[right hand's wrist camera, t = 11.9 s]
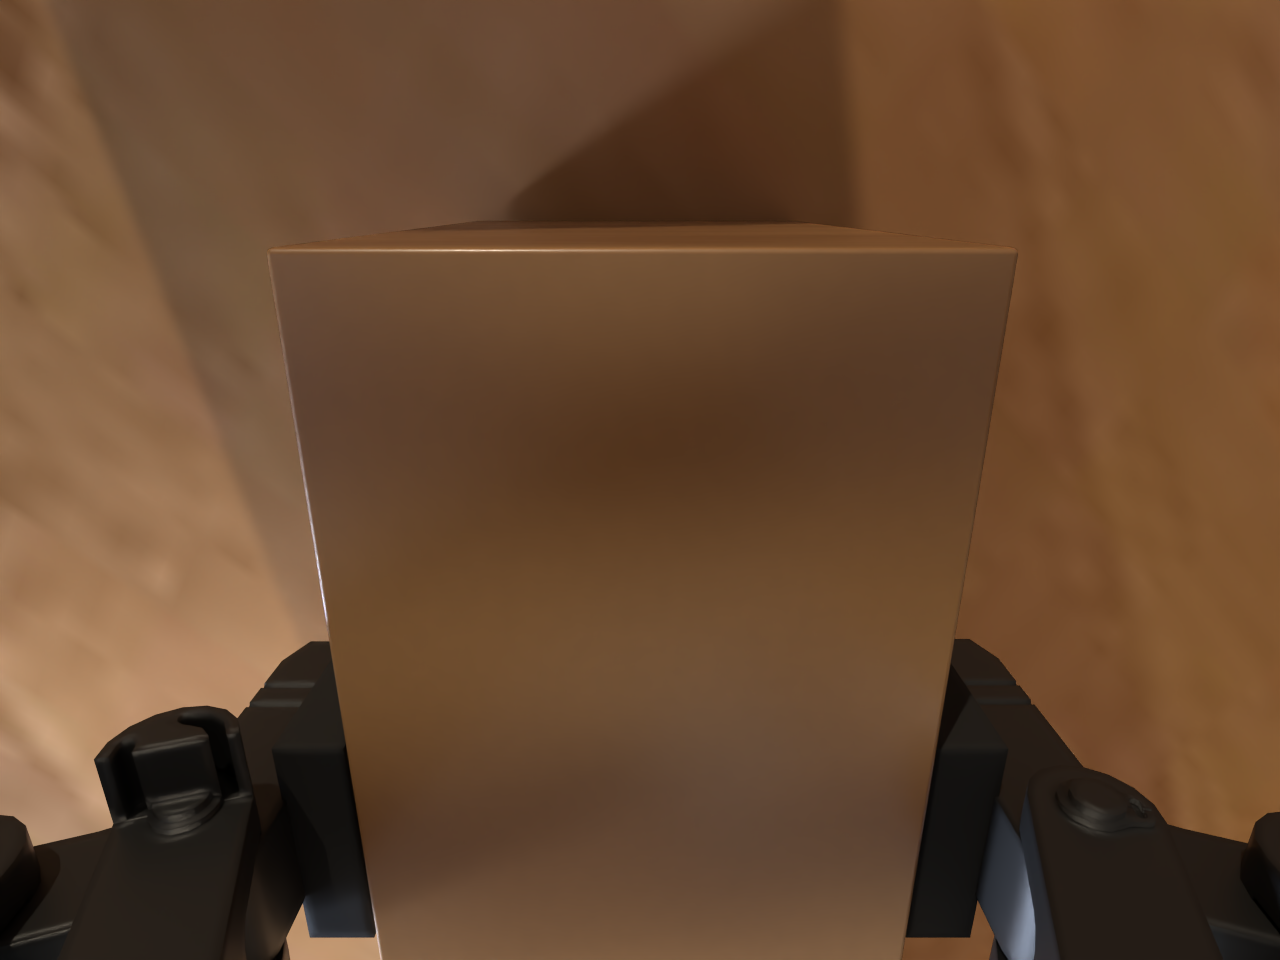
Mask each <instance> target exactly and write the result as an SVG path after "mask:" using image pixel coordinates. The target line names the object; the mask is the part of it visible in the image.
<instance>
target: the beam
mask: <svg viewBox="0 0 1280 960" xmlns="http://www.w3.org/2000/svg"><path fill="white" fill-rule="evenodd" d="M1017 256H1018V253H1017V250H1016V249H1014V248H1012V247H1006V246H997V245H989V244H981V243H972V242H964V241H956V240H947V239H939V238H931V237H922V236H914V235H906V234H897V233H889V232H881V231H872V230H864V229H855V228H847V227H839V226H830V225H822V224H814V223H805V222H797V221H475V222H467V223H459V224H452V225H444V226H436V227H428V228H420V229H412V230H405V231H397V232H389V233H381V234H373V235H365V236H358V237H350V238H342V239H334V240H326V241H318V242H310V243H303V244H295V245H287V246H279V247H272V248H270V249H268V251H267V260H268V266H269V272H270V278H271V284H272V290H273V297H274V303H275V309H276V315H277V321H278V327H279V334H280V340H281V346H282V352H283V358H284V365H285V371H286V377H287V383H288V389H289V395H290V402H291V408H292V414H293V420H294V426H295V433H296V439H297V445H298V451H299V457H300V463H301V470H302V476H303V482H304V488H305V494H306V500H307V507H308V513H309V519H310V525H311V531H312V538H313V544H314V550H315V556H316V562H317V568H318V575H319V581H320V587H321V593H322V599H323V606H324V612H325V618H326V624H327V630H328V636H329V643H330V649H331V655H332V661H333V667H334V673H335V680H336V686H337V692H338V698H339V704H340V711H341V717H342V723H343V729H344V735H345V741H346V748H347V754H348V760H349V766H350V772H351V778H352V785H353V791H354V797H355V803H356V809H357V816H358V822H359V828H360V834H361V840H362V846H363V853H364V859H365V865H366V871H367V877H368V884H369V890H370V896H371V902H372V908H373V914H374V921H375V927H376V933H377V939H378V945H379V951H380V958H381V960H902V954H903V948H904V942H905V936H906V930H907V924H908V918H909V912H910V906H911V900H912V894H913V888H914V882H915V875H916V869H917V863H918V857H919V851H920V845H921V839H922V833H923V827H924V821H925V815H926V809H927V803H928V797H929V791H930V784H931V778H932V772H933V766H934V760H935V754H936V748H937V742H938V736H939V730H940V724H941V718H942V712H943V706H944V699H945V693H946V687H947V681H948V675H949V669H950V663H951V657H952V651H953V645H954V639H955V633H956V627H957V621H958V615H959V608H960V602H961V596H962V590H963V584H964V578H965V572H966V566H967V560H968V554H969V548H970V542H971V536H972V530H973V523H974V517H975V511H976V505H977V499H978V493H979V487H980V481H981V475H982V469H983V463H984V457H985V451H986V445H987V439H988V432H989V426H990V420H991V414H992V408H993V402H994V396H995V390H996V384H997V378H998V372H999V366H1000V360H1001V354H1002V347H1003V341H1004V335H1005V329H1006V323H1007V317H1008V311H1009V305H1010V299H1011V293H1012V287H1013V281H1014V275H1015V269H1016V263H1017Z"/></svg>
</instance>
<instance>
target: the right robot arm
mask: <svg viewBox="0 0 1280 960" xmlns="http://www.w3.org/2000/svg"><path fill="white" fill-rule="evenodd" d="M94 761H95V765H96V768H97V771H98V774H99V778H100V781H101V784H102V788H103V791H104V794H105V797H106V801H107V804H108V807H109V810H110V814H111V817H112V820H113V826H112V828H109V829H106V830H102V831H99V832H95V833H91V834H86V835H82V836H77V837H73V838H69V839H64V840H60V841H55V842H51V843H47V844H42V845H38V846H34V847H33V845H32V842H31V839H30V836H29V834H28V831H27V828H26V825H24V824H23V823H21V822H20V821H19V820H17V819H16V818H15V817H13V816H4V815H0V960H290V956H289V949H288V945H287V940H286V937H287V935H288V933H289V930H290V928H291V926H292V924H293V922H294V920H295V918H296V916H297V914H298V912H299V910H300V908H301V905H302V903H303V906H304V910H305V915H306V920H307V925H308V930H309V935H310V937H375V934H376V927H375V921H374V914H373V908H372V902H371V896H370V890H369V884H368V877H367V871H366V865H365V859H364V853H363V846H362V840H361V834H360V828H359V822H358V816H357V809H356V803H355V797H354V791H353V785H352V778H351V772H350V766H349V760H348V754H347V748H346V741H345V735H344V729H343V723H342V717H341V711H340V704H339V698H338V692H337V686H336V680H335V673H334V667H333V661H332V655H331V649H330V643H329V641H311V642H309V643H308V644H306V645H305V646H303V647H302V648H300V649H299V650H298V651H296V652H295V653H293V654H292V655H290V656H289V657H287V658H286V659H284V660H283V661H282V662H281V663H280V664H279V666H278V667H277V668H276V669H275V671H274V672H273V673H272V675H271V676H270V677H269V678H268V680H267V681H266V682H265V686H264V688H261V689H260V690H259V691H258V693H257V694H256V695H255V696H254V698H253V699H252V700H251V702H250V706H249V707H246V708H245V709H244V711H243V712H242V713H241V714H240V716H239V717H238V718H236V717H235V716H234V715H233V714H231V713H230V712H229V711H228V710H226V709H221V708H216V707H211V706H196V707H183V708H179V709H175V710H171V711H168V712H164V713H160V714H157V715H154V716H152V717H150V718H147V719H145V720H143V721H141V722H139V723H137V724H134V725H132V726H130V727H128V728H127V729H126V730H124V731H123V732H121V733H120V734H119V735H117V736H116V737H114V738H113V739H112V740H110V741H109V742H108V743H107V744H106V745H105V746H104V748H103V749H102V750H101V751H100V753H99V754H98V755H97V756H96V758H95V759H94ZM977 901H978V902H979V904H980V906H981V908H982V910H983V912H984V914H985V916H986V918H987V920H988V922H989V925H990V927H991V929H992V931H993V933H994V935H995V936H994V940H993V945H992V949H991V954H990V958H989V960H1280V812H1274V813H1267V814H1266V815H1265V816H1263V817H1262V818H1261V819H1259V820H1258V821H1257V822H1255V825H1254V828H1253V831H1252V834H1251V836H1250V839H1249V842H1248V843H1244V842H1239V841H1235V840H1230V839H1226V838H1222V837H1217V836H1213V835H1208V834H1204V833H1200V832H1195V831H1191V830H1186V829H1182V828H1179V827H1175V826H1172V825H1169V824H1167V823H1166V821H1165V820H1164V818H1163V817H1162V815H1161V814H1160V813H1159V811H1158V810H1157V808H1156V807H1155V805H1154V804H1153V803H1151V802H1150V801H1149V800H1148V799H1147V798H1145V797H1144V796H1143V795H1142V794H1140V793H1139V792H1138V791H1137V790H1136V789H1134V788H1133V787H1131V786H1129V785H1127V784H1125V783H1123V782H1121V781H1119V780H1118V779H1116V778H1114V777H1112V776H1110V775H1107V774H1104V773H1101V772H1098V771H1094V770H1091V769H1088V768H1084V767H1083V766H1082V765H1081V763H1080V762H1079V761H1078V760H1077V758H1076V757H1075V756H1074V755H1073V753H1072V752H1071V751H1070V749H1069V748H1068V747H1067V746H1066V744H1065V743H1064V742H1063V740H1062V739H1061V738H1060V737H1059V735H1058V734H1057V733H1056V732H1055V730H1054V729H1053V728H1052V726H1051V725H1050V724H1049V723H1048V721H1047V720H1046V719H1045V717H1044V716H1043V715H1042V714H1041V712H1040V711H1039V710H1038V709H1037V707H1036V706H1035V705H1031V700H1030V698H1029V697H1028V696H1027V694H1026V693H1025V692H1024V691H1023V689H1022V688H1021V687H1020V686H1017V685H1016V680H1015V679H1014V678H1013V677H1012V675H1011V674H1010V673H1009V671H1008V670H1007V669H1006V668H1005V666H1004V665H1003V664H1002V663H1001V661H1000V660H999V659H998V658H997V657H995V656H994V655H992V654H991V653H989V652H988V651H986V650H985V649H983V648H982V647H980V646H979V645H978V644H976V643H975V642H973V641H972V640H970V639H954V645H953V651H952V657H951V663H950V669H949V675H948V681H947V687H946V693H945V699H944V706H943V712H942V718H941V724H940V730H939V736H938V742H937V748H936V754H935V760H934V766H933V772H932V778H931V784H930V791H929V797H928V803H927V809H926V815H925V821H924V827H923V833H922V839H921V845H920V851H919V857H918V863H917V869H916V875H915V882H914V888H913V894H912V900H911V906H910V912H909V918H908V924H907V930H906V936H905V937H970V935H971V930H972V925H973V920H974V915H975V910H976V905H977Z"/></svg>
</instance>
